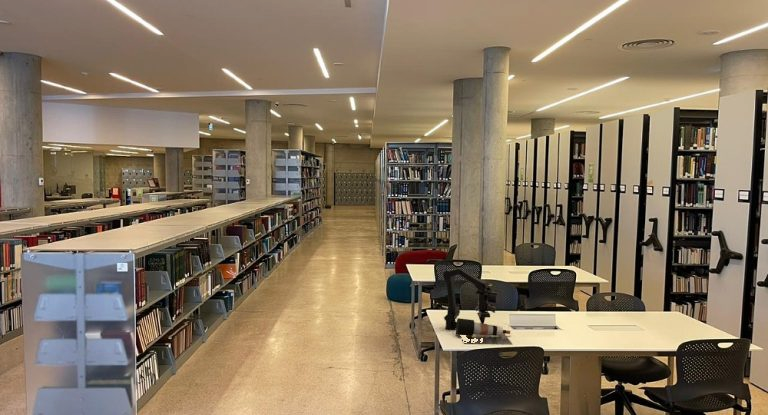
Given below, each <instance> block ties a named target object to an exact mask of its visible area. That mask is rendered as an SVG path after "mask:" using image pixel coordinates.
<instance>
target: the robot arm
mask: <svg viewBox="0 0 768 415" xmlns="http://www.w3.org/2000/svg"><path fill="white" fill-rule="evenodd" d="M457 275H459V276H460V277H462V278H463V279H465V280H466V281H468V282H470V283H471V284H472V285H473V286H474V287H475V289H477V290H476V291H475V292H474V293H475V294H476V295H478V300H477V304H478V305H477V306H475V312H477V313H476V314H477V316H478V319H479V321H480V322H479V323H482V324H485V321H486V318H491V314H490V312H492V313H494V314H495V313H496V312H497V307H496V306H494V304H498V303H499V302H500V295H499V292H498V291H496V292H495V291H493V290H492V289H491V287H490V285H489V282H487V280H483V279H481V278H478V277H476V276H474V275H473V274H471V273H470V272H468V271H466V270H465V269H463V268H462V267H459V268H456V269H447V270H445V271H444V272H442V277H443V280H444V282H445V284H446V290H447V300H448V307H447V311H446V312H447V314H446V315H445V316H443V319H444V321H445V327H444V328H445V330H446V331H447V330H449V331H451V330H452V331H456V322H457V319H458V317H459V316H460V313H461V311H460V306H458V305H457V302H456V301H457V300H456V292H455V284H454V283H455V279H456V276H457ZM493 303H494V304H493Z"/></svg>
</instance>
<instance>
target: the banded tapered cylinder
mask: <svg viewBox="0 0 768 415" xmlns="http://www.w3.org/2000/svg"><path fill="white" fill-rule="evenodd" d="M503 333H504V334H505V335H511V330H507V329H504V328H503V326H500V325H493V324H487V323H484V324H482V323H481V322H475V320H474V319H467V318H460V317H459V318H458V317H457V319H456V330H455V334H456V335H459V336H460V335H467V336H473V334H479V335H493V336H502V334H503Z"/></svg>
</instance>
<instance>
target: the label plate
mask: <svg viewBox="0 0 768 415" xmlns="http://www.w3.org/2000/svg"><path fill="white" fill-rule="evenodd" d="M466 337H467V338H468V339H470V341H469V342H467V343H464V344H463V345H510V346H511V345H513V343H512V341H511V340H510V338H509V337H508V336H507V334H504V333H503V334H502V336H493V335H479V334H473V336H467V335H466ZM474 338H476V339H478V341H477V342H475V343H471V339H474ZM481 338H483V342H482V343H480V342H481V341H480V339H481ZM464 342H466V341H464ZM473 342H474V341H473ZM468 343H469V344H468Z"/></svg>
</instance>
